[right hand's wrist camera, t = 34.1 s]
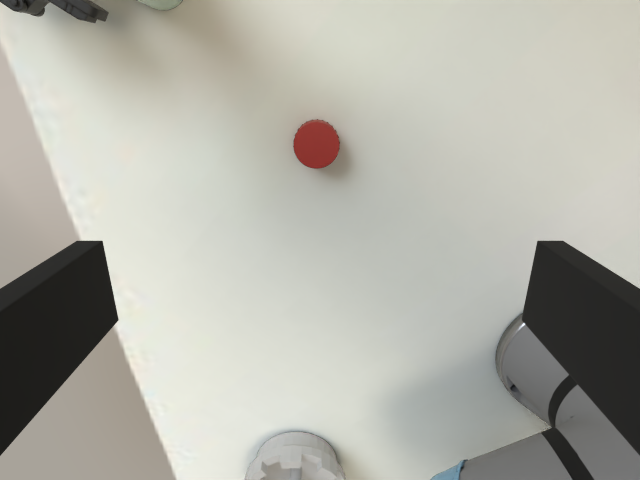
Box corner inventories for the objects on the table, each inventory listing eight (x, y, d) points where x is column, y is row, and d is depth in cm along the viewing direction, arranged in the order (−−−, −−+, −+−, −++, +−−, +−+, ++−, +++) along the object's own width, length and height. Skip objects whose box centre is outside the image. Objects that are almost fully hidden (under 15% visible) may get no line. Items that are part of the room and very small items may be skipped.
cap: (319, 109, 39) (320, 111, 36) (347, 145, 40) (349, 149, 37) (285, 138, 39) (283, 142, 37) (313, 172, 41) (313, 178, 38)
